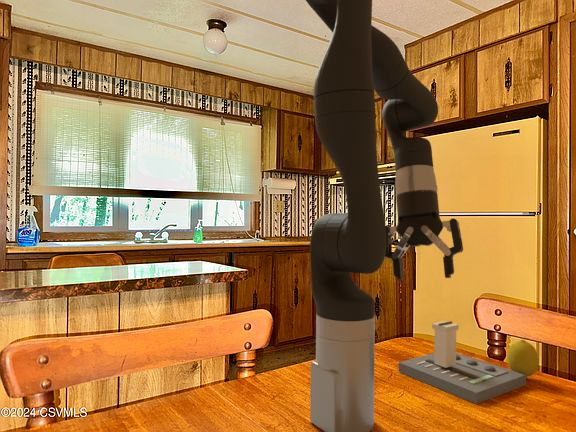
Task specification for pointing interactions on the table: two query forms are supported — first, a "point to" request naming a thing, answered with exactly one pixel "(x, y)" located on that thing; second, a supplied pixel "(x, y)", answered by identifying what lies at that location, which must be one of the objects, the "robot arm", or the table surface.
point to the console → (464, 377)
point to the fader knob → (445, 343)
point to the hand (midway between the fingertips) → (423, 278)
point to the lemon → (523, 358)
